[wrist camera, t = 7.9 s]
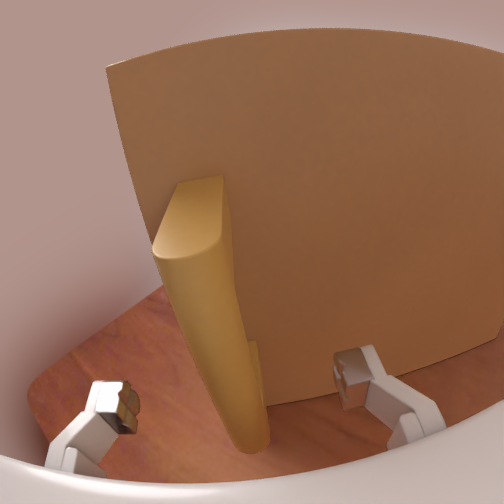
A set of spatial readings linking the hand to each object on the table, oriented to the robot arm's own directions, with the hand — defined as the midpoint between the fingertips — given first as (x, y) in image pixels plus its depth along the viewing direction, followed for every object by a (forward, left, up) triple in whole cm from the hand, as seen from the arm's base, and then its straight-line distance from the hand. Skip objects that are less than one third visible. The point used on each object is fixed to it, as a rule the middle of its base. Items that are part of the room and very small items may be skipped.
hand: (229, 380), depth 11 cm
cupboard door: (+10, -2, -12) cm, 16 cm away
